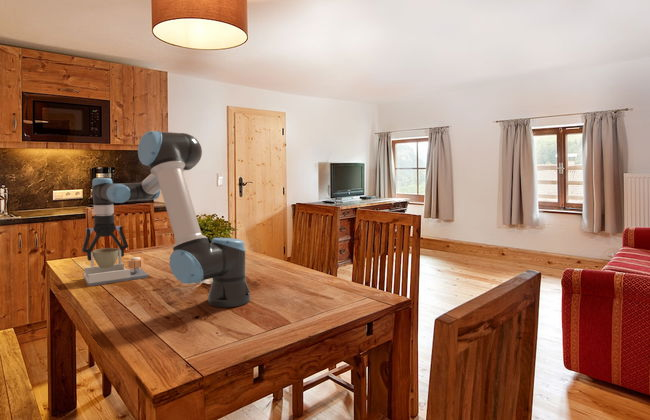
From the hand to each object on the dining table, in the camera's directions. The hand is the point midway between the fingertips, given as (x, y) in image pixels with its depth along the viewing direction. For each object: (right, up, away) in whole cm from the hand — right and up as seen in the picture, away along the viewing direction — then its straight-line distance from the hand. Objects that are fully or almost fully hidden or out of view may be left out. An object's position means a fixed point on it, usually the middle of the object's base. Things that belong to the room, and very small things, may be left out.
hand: (106, 266), depth 174 cm
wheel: (+9, -1, +7) cm, 12 cm away
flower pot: (0, 0, 0) cm, 1 cm away
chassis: (+3, -6, +3) cm, 7 cm away
